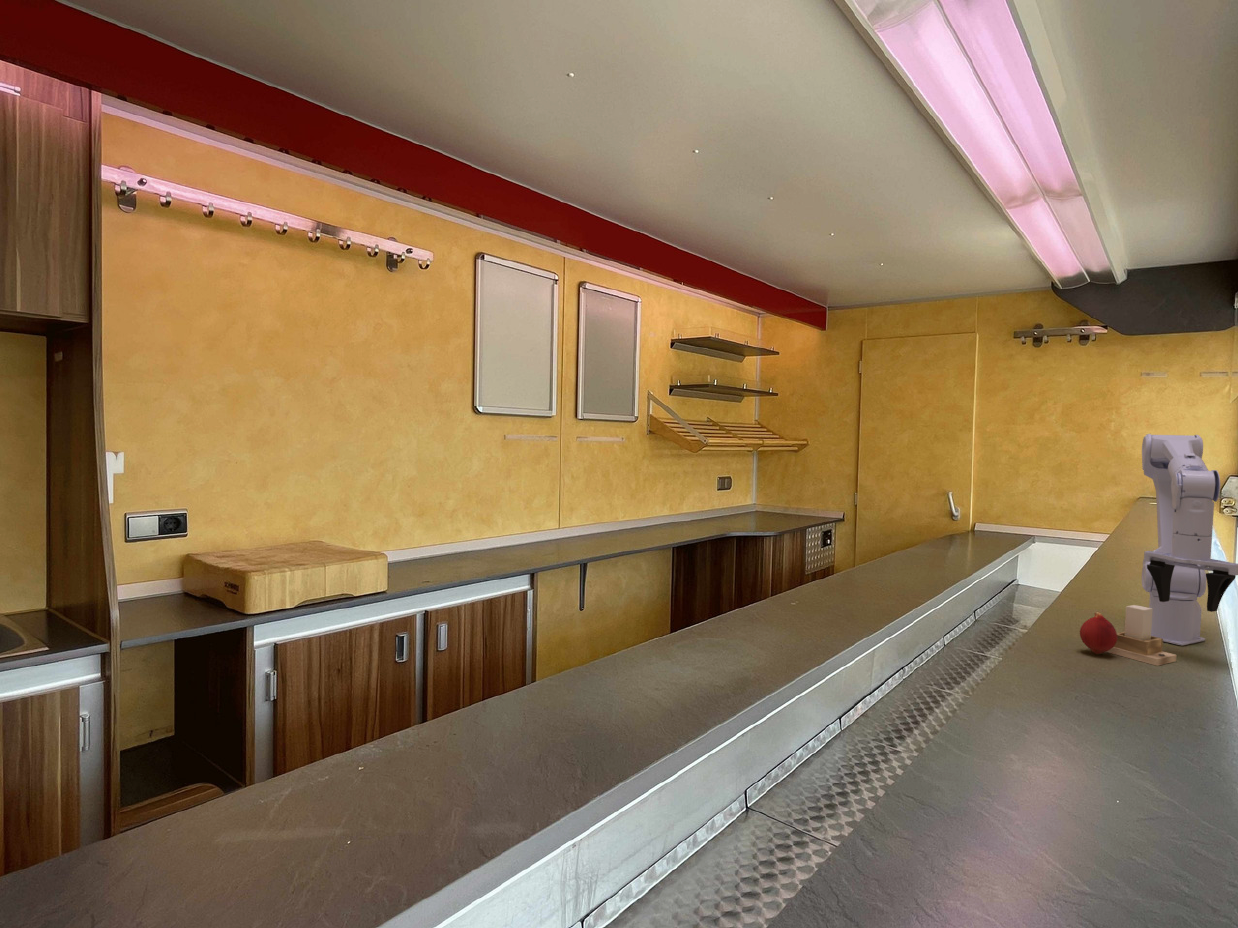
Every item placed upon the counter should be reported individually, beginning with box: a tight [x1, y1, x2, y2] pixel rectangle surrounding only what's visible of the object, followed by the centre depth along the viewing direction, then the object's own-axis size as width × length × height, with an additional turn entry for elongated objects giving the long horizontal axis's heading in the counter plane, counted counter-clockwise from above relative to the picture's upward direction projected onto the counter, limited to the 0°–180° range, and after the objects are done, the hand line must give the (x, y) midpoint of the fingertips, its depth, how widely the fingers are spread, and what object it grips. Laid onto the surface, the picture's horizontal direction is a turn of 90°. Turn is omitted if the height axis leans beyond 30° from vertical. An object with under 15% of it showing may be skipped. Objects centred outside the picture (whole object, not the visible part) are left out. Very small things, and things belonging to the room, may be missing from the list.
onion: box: [1079, 611, 1118, 655], centre depth 132 cm, size 6×6×8 cm
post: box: [1124, 604, 1153, 641], centre depth 132 cm, size 3×3×8 cm
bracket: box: [1105, 631, 1177, 667], centre depth 132 cm, size 6×10×4 cm, turn 27°
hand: (1187, 605), depth 131 cm, fingers open, 7 cm apart
